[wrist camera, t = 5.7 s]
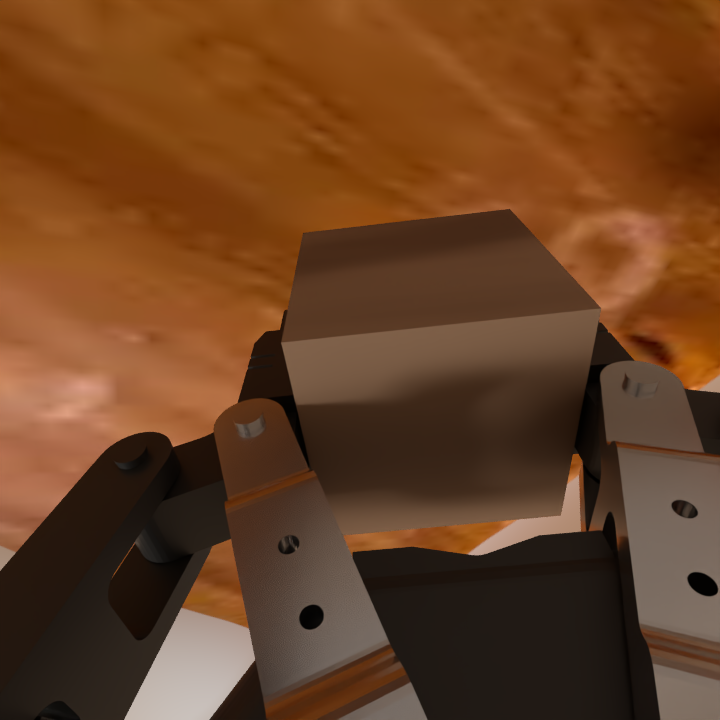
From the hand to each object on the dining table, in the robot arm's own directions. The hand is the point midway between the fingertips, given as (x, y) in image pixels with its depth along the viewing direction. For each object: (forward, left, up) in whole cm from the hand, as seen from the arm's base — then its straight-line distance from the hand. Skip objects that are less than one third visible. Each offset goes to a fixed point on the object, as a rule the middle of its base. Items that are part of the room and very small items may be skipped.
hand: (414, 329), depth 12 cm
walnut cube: (0, 0, -1) cm, 1 cm away
